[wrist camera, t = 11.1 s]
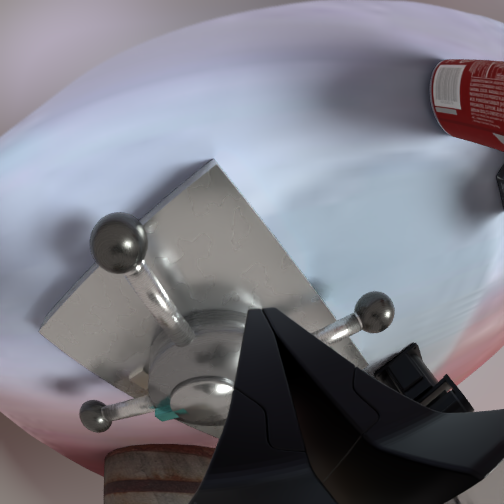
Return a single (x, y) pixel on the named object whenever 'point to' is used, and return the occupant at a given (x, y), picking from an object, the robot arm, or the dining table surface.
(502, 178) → the small box
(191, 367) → the capstan
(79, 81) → the dining table surface
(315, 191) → the dining table surface
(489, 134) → the soda can
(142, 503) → the barrel
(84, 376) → the dining table surface
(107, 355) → the stand
